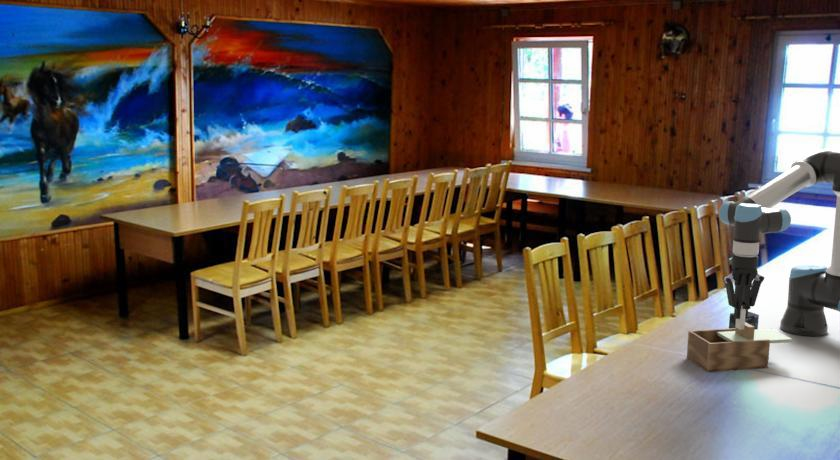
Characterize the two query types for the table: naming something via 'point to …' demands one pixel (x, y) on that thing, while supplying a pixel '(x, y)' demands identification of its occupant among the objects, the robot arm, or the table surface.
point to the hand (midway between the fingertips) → (739, 328)
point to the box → (751, 320)
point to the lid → (754, 335)
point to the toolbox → (726, 352)
